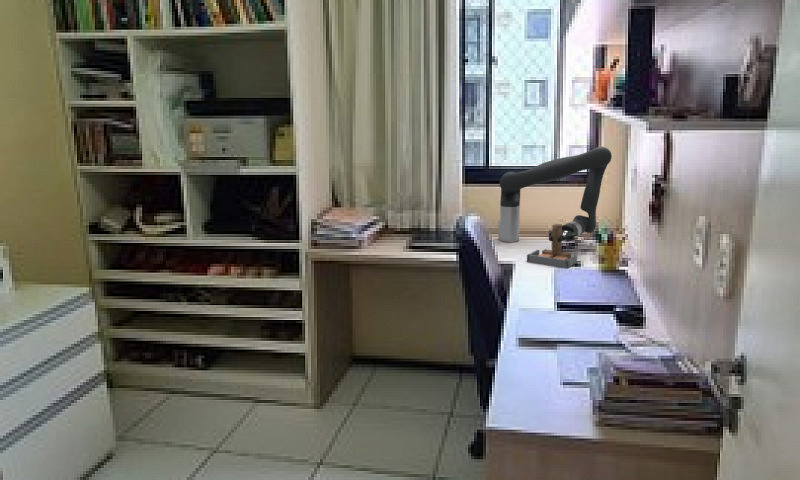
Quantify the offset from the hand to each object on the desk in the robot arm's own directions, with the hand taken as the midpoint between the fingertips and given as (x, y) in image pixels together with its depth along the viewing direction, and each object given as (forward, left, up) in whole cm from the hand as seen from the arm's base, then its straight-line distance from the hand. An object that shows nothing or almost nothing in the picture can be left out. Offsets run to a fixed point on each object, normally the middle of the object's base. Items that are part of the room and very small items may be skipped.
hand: (554, 239), depth 245 cm
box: (0, -2, -9) cm, 10 cm away
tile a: (-4, -1, -10) cm, 10 cm away
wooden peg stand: (0, +3, -9) cm, 10 cm away
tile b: (+3, -1, -10) cm, 10 cm away
